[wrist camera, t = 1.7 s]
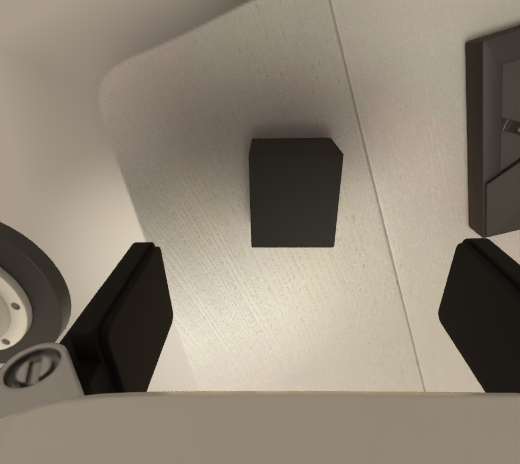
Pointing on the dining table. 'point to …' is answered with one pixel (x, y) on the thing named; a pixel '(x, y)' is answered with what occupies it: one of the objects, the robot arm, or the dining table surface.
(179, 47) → the dining table surface
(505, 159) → the picture frame
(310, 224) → the dark grey square block
